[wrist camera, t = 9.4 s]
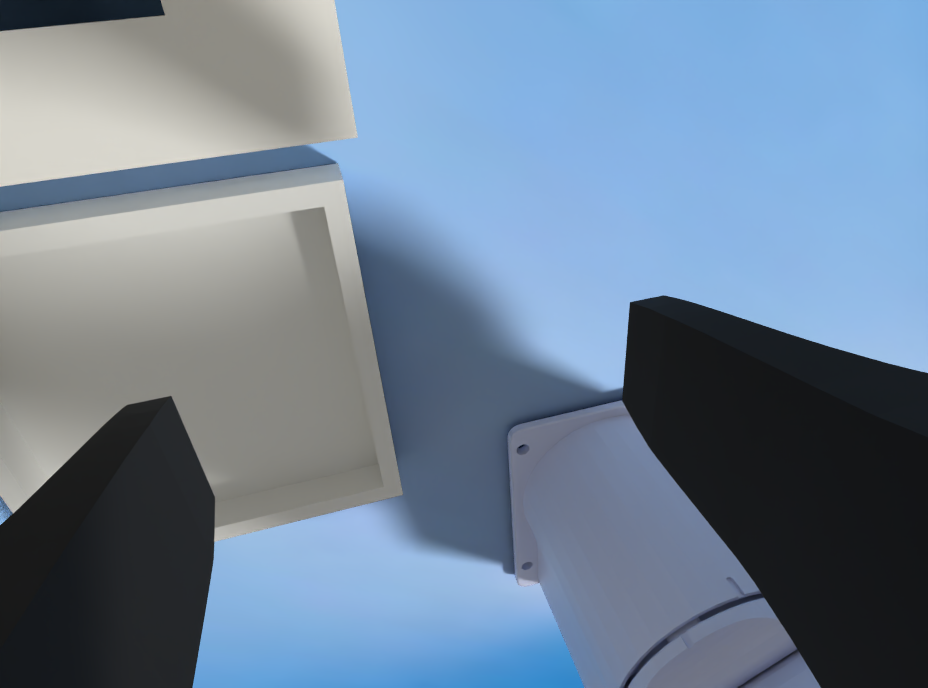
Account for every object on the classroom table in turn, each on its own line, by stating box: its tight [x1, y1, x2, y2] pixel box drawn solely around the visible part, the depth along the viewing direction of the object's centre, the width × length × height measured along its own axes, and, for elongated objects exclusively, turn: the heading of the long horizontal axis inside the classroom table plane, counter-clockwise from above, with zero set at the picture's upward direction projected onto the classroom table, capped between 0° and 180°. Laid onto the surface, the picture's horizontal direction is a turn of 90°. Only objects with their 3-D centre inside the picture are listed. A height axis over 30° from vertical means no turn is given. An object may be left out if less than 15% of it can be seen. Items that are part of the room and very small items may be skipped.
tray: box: [0, 163, 403, 542], centre depth 17 cm, size 11×11×2 cm
